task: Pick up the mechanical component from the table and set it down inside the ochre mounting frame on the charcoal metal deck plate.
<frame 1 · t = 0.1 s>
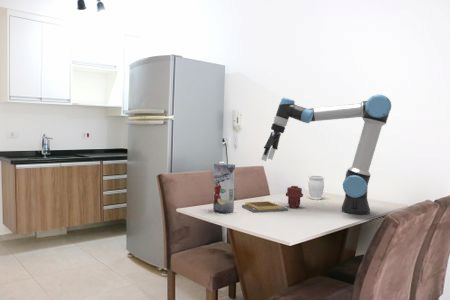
hand: (266, 159, 214), 28 cm above the table, tool tilted 20°, fingers open, 13 cm apart
juice carton: (223, 212, 200), on the table
jar: (315, 199, 250), on the table
deck plate: (264, 208, 211), on the table
mechanical component: (293, 207, 218), on the table
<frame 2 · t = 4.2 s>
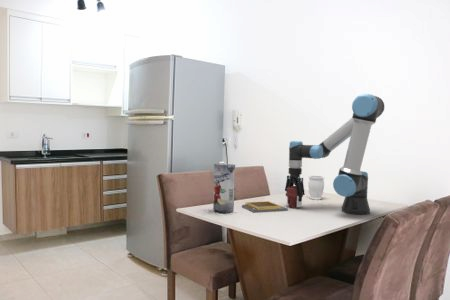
hand: (293, 205, 218), 1 cm above the table, tool pointing down, fingers closed on mechanical component, 10 cm apart
mechanical component: (293, 207, 218), on the table, touching gripper
everything else where it was.
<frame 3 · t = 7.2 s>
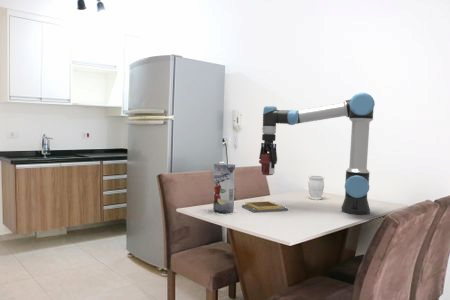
hand: (267, 173, 211), 20 cm above the table, tool pointing down, fingers closed on mechanical component, 10 cm apart
mechanical component: (267, 175, 211), point 19 cm above the table, touching gripper
everything else where it was.
when the fingers open (4 cm above the table, at t = 10.3 s): mechanical component drops 2 cm, point 1 cm above the table.
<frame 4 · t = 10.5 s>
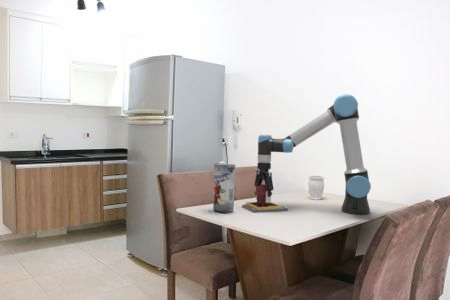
hand: (263, 200, 210), 5 cm above the table, tool pointing down, fingers open, 11 cm apart
mechanical component: (262, 206, 210), point 1 cm above the table, touching gripper
everything else where it was.
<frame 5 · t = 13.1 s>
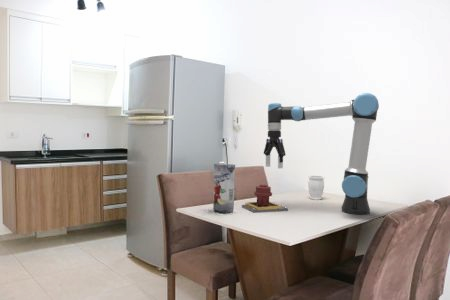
hand: (273, 167, 213), 23 cm above the table, tool pointing down, fingers open, 13 cm apart
mechanical component: (262, 207, 211), point 1 cm above the table, touching deck plate
everything else where it was.
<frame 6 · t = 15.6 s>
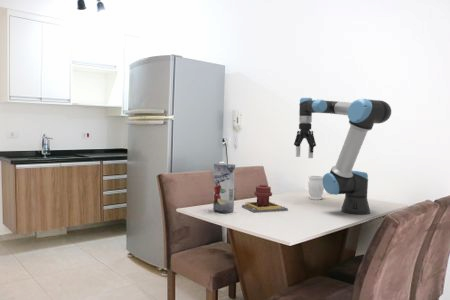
hand: (304, 157, 230), 29 cm above the table, tool pointing down, fingers open, 13 cm apart
nothing on the table moved.
at the end: mechanical component 0.3 cm from the target spot on the deck plate, point 1.0 cm above the deck plate's base; mechanical component tilted 0°; the gripper is holding nothing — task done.
